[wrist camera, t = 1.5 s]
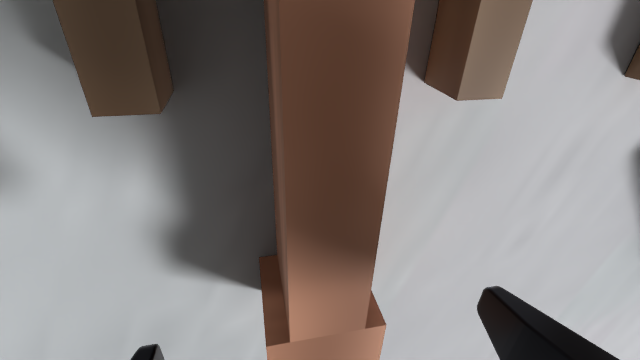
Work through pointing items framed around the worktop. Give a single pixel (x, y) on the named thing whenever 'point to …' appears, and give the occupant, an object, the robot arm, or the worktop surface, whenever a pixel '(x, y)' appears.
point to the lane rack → (155, 79)
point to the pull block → (330, 170)
